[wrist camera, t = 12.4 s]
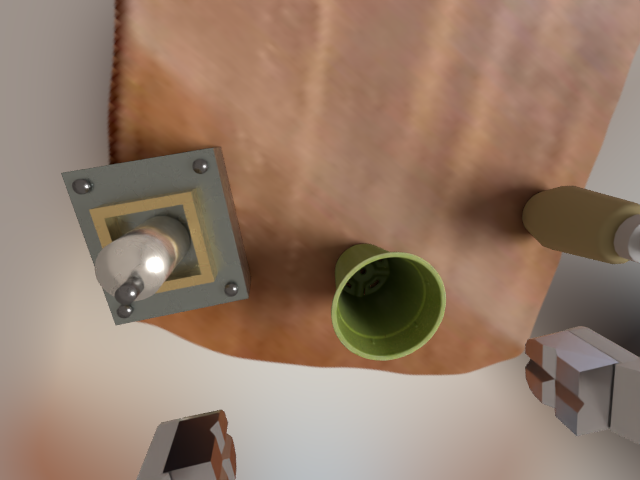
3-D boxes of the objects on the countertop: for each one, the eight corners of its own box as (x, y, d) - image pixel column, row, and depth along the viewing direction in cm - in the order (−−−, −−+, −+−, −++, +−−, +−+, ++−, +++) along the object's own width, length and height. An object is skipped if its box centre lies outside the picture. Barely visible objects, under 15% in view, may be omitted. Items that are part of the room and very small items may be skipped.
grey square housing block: (91, 168, 39) (45, 175, 31) (220, 146, 40) (208, 148, 32) (135, 301, 44) (105, 337, 36) (251, 278, 45) (247, 308, 37)
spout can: (130, 221, 35) (70, 254, 25) (182, 211, 36) (144, 240, 25) (146, 268, 37) (95, 319, 26) (195, 258, 37) (164, 304, 27)
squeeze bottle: (539, 170, 46) (698, 186, 29) (580, 202, 48) (752, 235, 31) (501, 223, 48) (632, 269, 30) (543, 252, 50) (689, 310, 32)
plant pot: (303, 298, 47) (313, 345, 36) (337, 212, 44) (359, 235, 34) (384, 322, 49) (417, 373, 38) (420, 243, 47) (466, 273, 36)
